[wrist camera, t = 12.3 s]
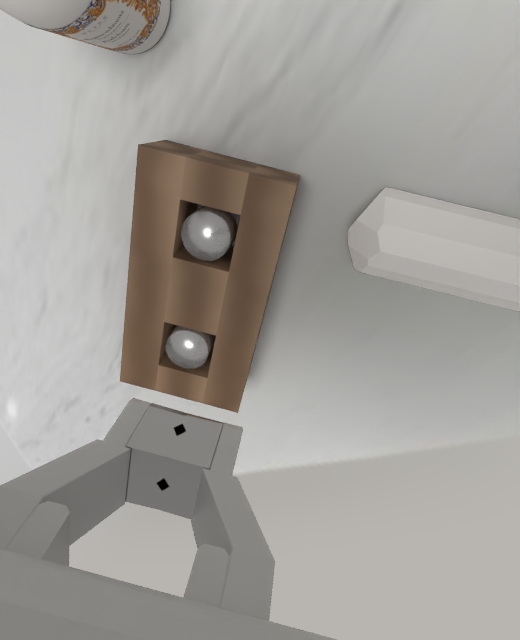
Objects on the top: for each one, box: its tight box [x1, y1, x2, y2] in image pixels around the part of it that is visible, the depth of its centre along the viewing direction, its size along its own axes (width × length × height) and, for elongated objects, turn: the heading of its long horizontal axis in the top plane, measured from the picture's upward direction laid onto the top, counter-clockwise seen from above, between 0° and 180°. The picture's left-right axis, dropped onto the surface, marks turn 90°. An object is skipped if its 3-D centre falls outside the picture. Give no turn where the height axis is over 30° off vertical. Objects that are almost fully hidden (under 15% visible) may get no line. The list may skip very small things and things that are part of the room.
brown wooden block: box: [120, 140, 300, 413], centre depth 38 cm, size 12×22×6 cm, turn 167°
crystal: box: [348, 187, 520, 312], centre depth 34 cm, size 7×7×24 cm
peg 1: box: [181, 205, 240, 261], centre depth 35 cm, size 4×4×6 cm
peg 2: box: [166, 325, 216, 369], centre depth 40 cm, size 4×4×6 cm
